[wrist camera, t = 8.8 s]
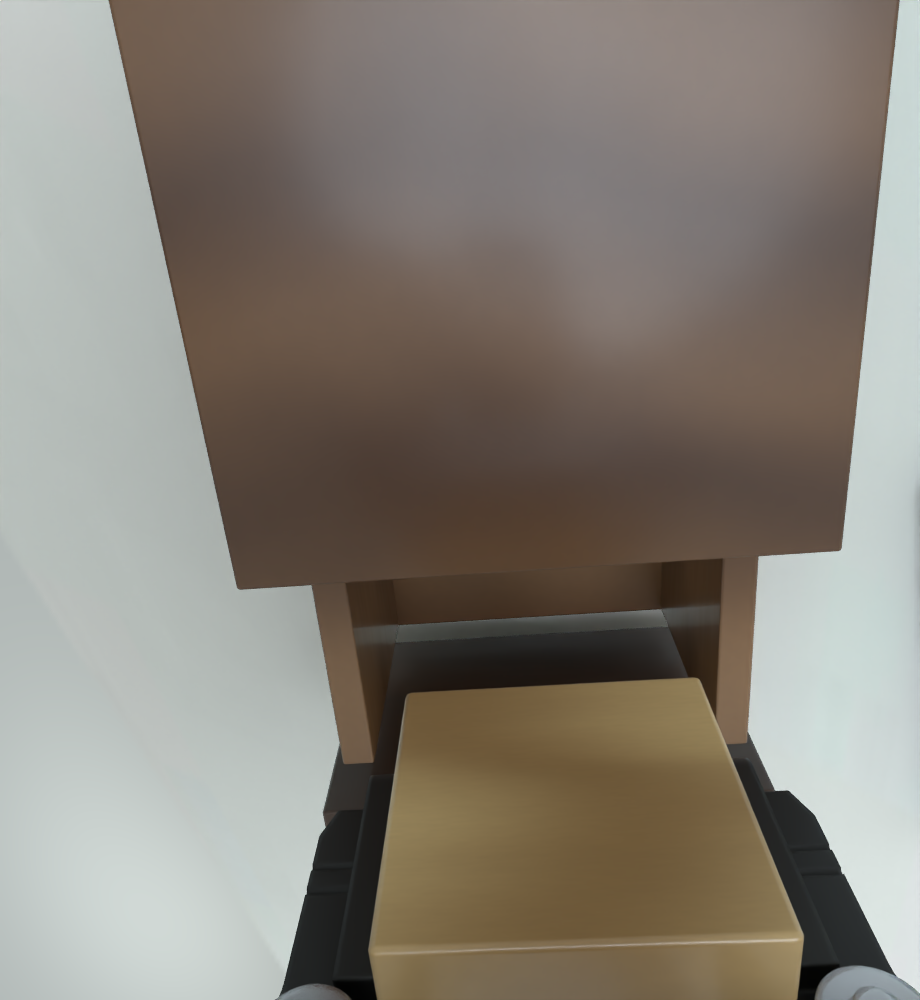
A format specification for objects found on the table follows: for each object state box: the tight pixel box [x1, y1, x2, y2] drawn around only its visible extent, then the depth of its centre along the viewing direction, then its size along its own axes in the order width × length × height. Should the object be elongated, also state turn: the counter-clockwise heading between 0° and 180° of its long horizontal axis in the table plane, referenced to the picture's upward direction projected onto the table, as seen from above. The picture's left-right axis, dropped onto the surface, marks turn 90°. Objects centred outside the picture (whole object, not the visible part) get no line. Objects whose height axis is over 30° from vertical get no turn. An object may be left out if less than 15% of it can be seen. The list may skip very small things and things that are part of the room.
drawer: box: [312, 556, 775, 827], centre depth 23 cm, size 18×11×8 cm, turn 5°
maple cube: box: [368, 677, 804, 1000], centre depth 11 cm, size 4×4×4 cm
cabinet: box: [109, 0, 899, 590], centre depth 19 cm, size 15×13×10 cm
